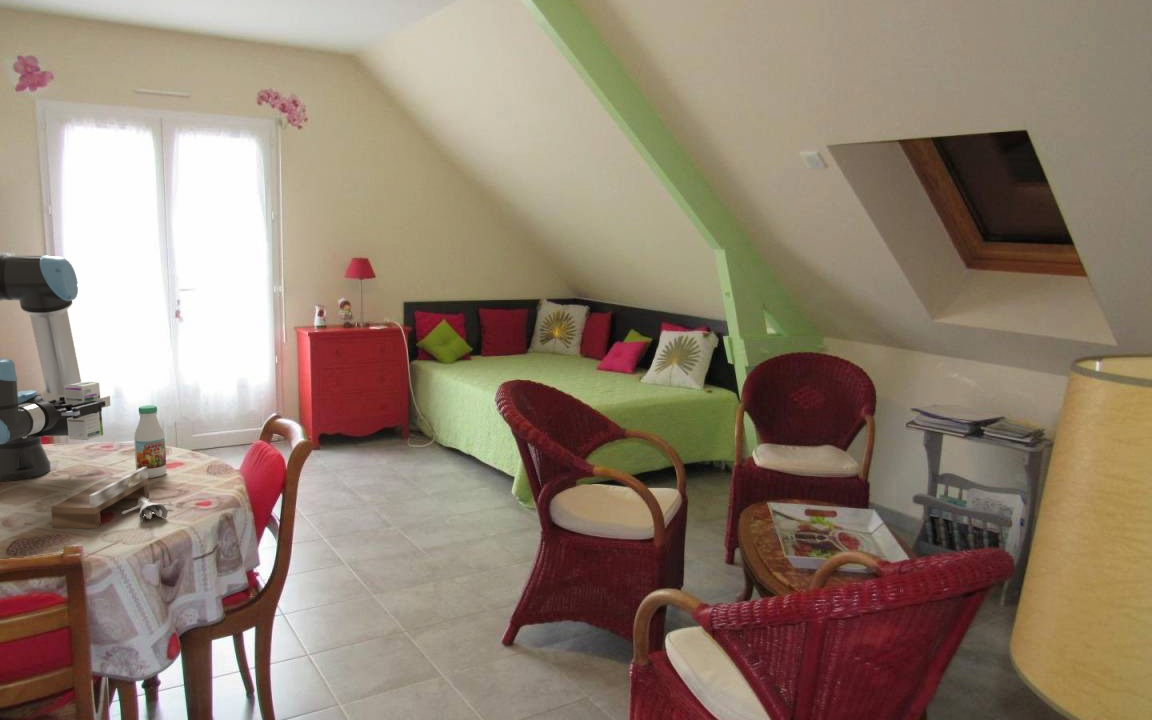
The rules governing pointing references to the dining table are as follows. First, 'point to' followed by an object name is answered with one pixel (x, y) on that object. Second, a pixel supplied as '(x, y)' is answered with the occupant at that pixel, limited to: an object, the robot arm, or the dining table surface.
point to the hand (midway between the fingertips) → (96, 400)
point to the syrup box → (86, 424)
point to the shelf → (99, 500)
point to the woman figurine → (150, 508)
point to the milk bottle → (150, 443)
